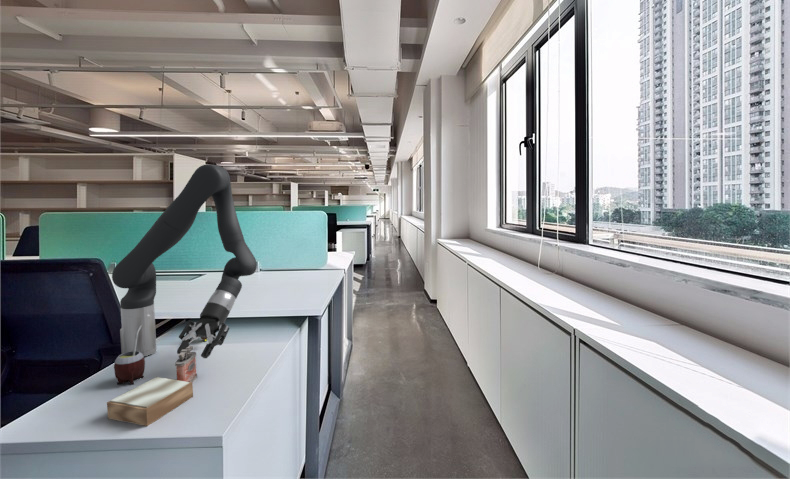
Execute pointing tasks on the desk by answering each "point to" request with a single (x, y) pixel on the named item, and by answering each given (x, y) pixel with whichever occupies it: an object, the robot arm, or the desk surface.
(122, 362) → the mate gourd
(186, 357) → the lighter
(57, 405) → the desk surface
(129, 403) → the wooden flat block
